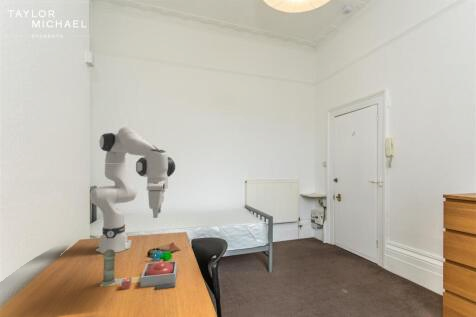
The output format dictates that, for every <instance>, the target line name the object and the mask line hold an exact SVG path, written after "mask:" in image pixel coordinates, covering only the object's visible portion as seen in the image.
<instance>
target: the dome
mask: <svg viewBox="0 0 476 317" xmlns="http://www.w3.org/2000/svg"><path fill="white" fill-rule="evenodd" d="M158 262H159V263H157V262H154V263H155V264H152V265H150V266H149V267H148V268H147V276H152V275H162V274H172V273H173V264H172V263H169V262H168V261H158Z"/></svg>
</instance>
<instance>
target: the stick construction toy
mask: <svg viewBox="0 0 476 317" xmlns="http://www.w3.org/2000/svg"><path fill="white" fill-rule="evenodd" d="M152 251H153V252H154V253H155V254H156V255H150V256H152V257H154V258H151V259H150V260H151V261H154V262H157V258H158V262H161V260H162V262H167V261H170V260H171V259H172V257H173V255H172V254H173V253H170V252H162V253H160V251H161V248H160V251H159V253H158V254H157V251H156V249H155V251H156V252H155V251H154V250H152ZM159 256H160V257H159Z"/></svg>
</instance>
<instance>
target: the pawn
mask: <svg viewBox="0 0 476 317" xmlns="http://www.w3.org/2000/svg"><path fill="white" fill-rule="evenodd" d="M102 254H103V253H102ZM102 258H103V279H102V281H101V284H102V285H108V286H111V285H110V284H113V283H114V282H115V279H116V277H115V262H116V261H115V258H116V253H115V251H114V250H112V249H109V250H107V251H105V253H104V254H103V255H102ZM115 283H116V282H115ZM115 283H114V284H115Z"/></svg>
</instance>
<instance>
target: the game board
mask: <svg viewBox="0 0 476 317" xmlns="http://www.w3.org/2000/svg"><path fill="white" fill-rule="evenodd" d="M159 262H160V261H158V262H157V261H156V262H149V263H148V262H147V263H146V265H145V268H144V269H143V271H142V274H141V276H133V277H131V276H130V277H123V278H115V282H114V283H113V284H110V285H102V283H101V284H100V285H99V287H106V286H108V287H109V286H115V285H117V286H118V285H121V290H128V289H130V288H131V287H132V284H136V283H140V287H141V288H144V287H153V286H154V288H153V290H155V291H156V290H162V289H172V288H173V289H174V288H175V287H176V283H177V275H178V266H177V265H178V260H171V261H170V260H167V262H169V263H172V264H173V273H172V274H162V275H152V276H147V268H148V267H149V266H150V265H152V264H155V263H159Z"/></svg>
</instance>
